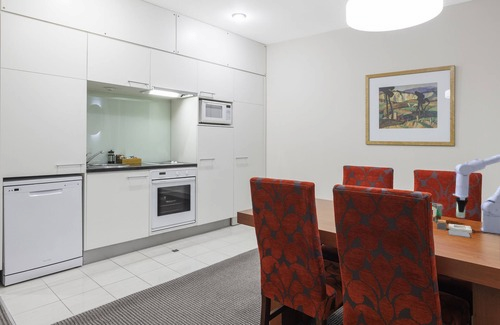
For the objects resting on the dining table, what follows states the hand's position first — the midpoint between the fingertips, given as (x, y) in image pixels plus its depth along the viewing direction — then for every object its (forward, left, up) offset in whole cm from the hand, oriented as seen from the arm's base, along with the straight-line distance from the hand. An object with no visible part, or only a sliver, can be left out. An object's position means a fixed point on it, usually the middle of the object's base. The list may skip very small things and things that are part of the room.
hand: (460, 211), depth 174 cm
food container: (+11, -17, -10) cm, 23 cm away
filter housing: (+3, 0, -10) cm, 10 cm away
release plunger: (+9, +3, -10) cm, 13 cm away
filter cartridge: (0, 0, -3) cm, 3 cm away
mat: (+1, +11, -10) cm, 15 cm away
